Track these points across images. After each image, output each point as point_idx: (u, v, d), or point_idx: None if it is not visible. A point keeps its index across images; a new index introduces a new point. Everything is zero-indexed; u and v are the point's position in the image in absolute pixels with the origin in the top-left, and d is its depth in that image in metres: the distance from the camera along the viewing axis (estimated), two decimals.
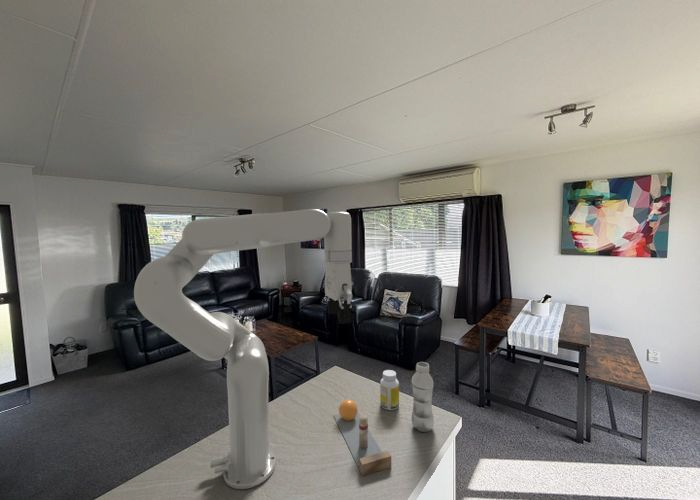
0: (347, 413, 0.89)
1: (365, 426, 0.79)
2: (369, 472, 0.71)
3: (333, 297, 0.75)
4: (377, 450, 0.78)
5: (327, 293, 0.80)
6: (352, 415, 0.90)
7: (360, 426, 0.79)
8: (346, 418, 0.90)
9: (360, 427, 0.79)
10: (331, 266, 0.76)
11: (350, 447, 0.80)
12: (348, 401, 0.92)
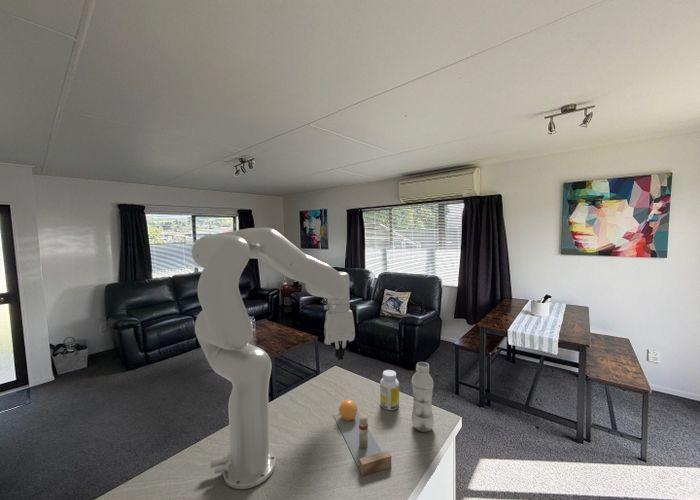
0: (347, 413, 0.89)
1: (365, 426, 0.79)
2: (369, 472, 0.71)
3: (351, 337, 0.99)
4: (377, 450, 0.78)
5: (337, 339, 0.97)
6: (352, 415, 0.90)
7: (360, 426, 0.79)
8: (346, 418, 0.90)
9: (360, 427, 0.79)
10: (347, 314, 0.98)
11: (350, 447, 0.80)
12: (348, 401, 0.92)
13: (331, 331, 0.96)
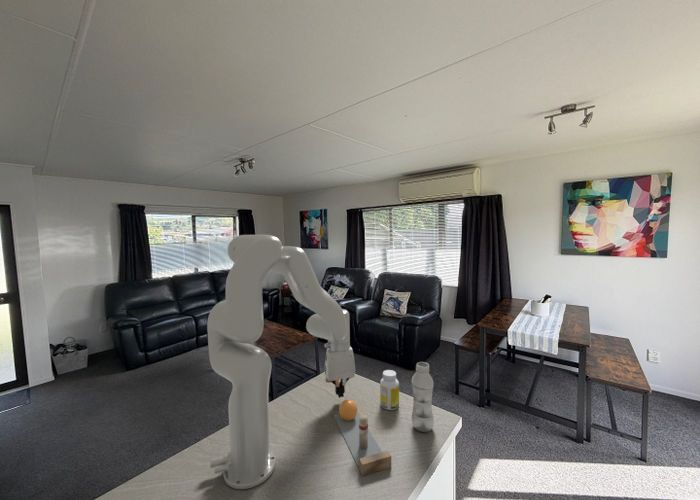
0: (347, 413, 0.89)
1: (365, 426, 0.79)
2: (369, 472, 0.71)
3: (351, 375, 1.00)
4: (377, 450, 0.78)
5: (337, 377, 0.98)
6: (352, 415, 0.90)
7: (360, 426, 0.79)
8: (346, 418, 0.90)
9: (360, 427, 0.79)
10: (347, 352, 0.99)
11: (350, 447, 0.80)
12: (348, 401, 0.92)
13: (331, 370, 0.97)
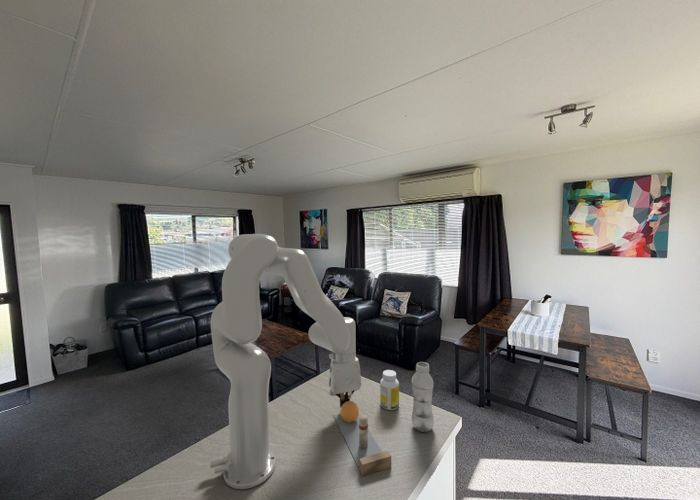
0: (349, 416, 0.88)
1: (365, 426, 0.79)
2: (369, 472, 0.71)
3: (357, 388, 0.94)
4: (377, 450, 0.78)
5: (343, 390, 0.92)
6: (353, 419, 0.89)
7: (360, 426, 0.79)
8: (347, 421, 0.89)
9: (360, 427, 0.79)
10: (353, 363, 0.93)
11: (350, 447, 0.80)
12: (350, 404, 0.90)
13: (337, 382, 0.91)
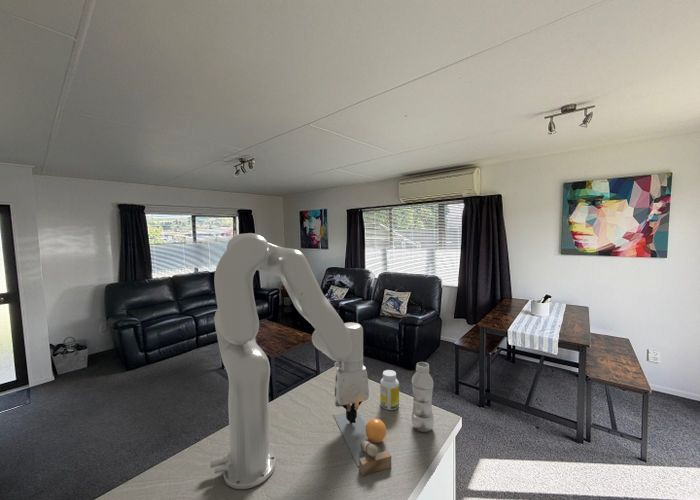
0: (370, 420, 0.84)
1: None
2: (369, 472, 0.71)
3: (364, 398, 0.88)
4: None
5: (349, 401, 0.86)
6: None
7: (367, 453, 0.73)
8: (375, 419, 0.83)
9: (367, 452, 0.73)
10: (360, 372, 0.87)
11: (350, 447, 0.80)
12: None
13: (342, 393, 0.85)
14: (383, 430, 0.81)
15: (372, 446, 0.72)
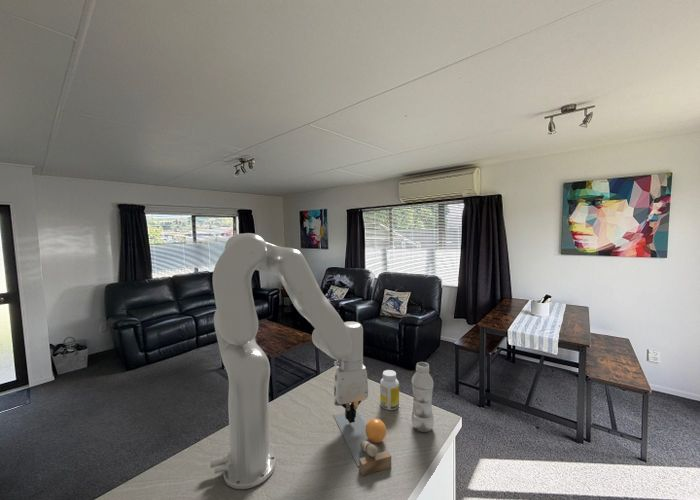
0: (370, 420, 0.84)
1: None
2: (369, 472, 0.71)
3: (364, 398, 0.87)
4: None
5: (349, 400, 0.86)
6: None
7: (367, 453, 0.73)
8: (375, 419, 0.83)
9: (367, 452, 0.73)
10: (360, 372, 0.87)
11: (350, 447, 0.80)
12: None
13: (342, 392, 0.85)
14: (383, 430, 0.81)
15: (372, 446, 0.72)
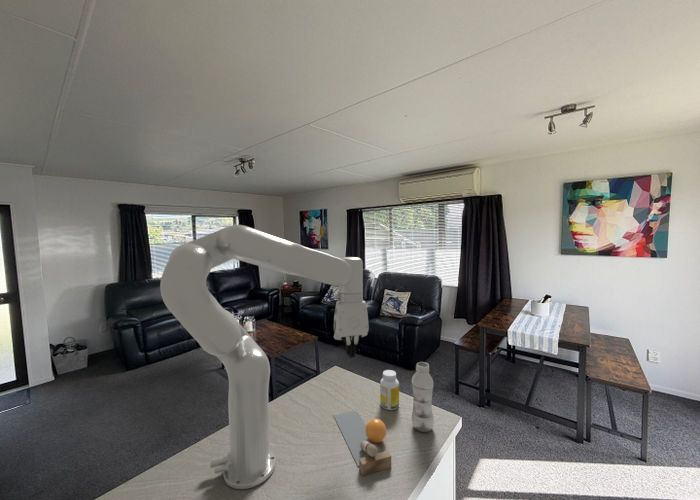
0: (370, 420, 0.84)
1: None
2: (369, 472, 0.71)
3: (364, 332, 0.87)
4: None
5: (349, 333, 0.85)
6: None
7: (367, 453, 0.73)
8: (375, 419, 0.83)
9: (367, 453, 0.73)
10: (360, 305, 0.86)
11: (350, 447, 0.80)
12: None
13: (342, 324, 0.84)
14: (383, 430, 0.81)
15: (372, 446, 0.72)
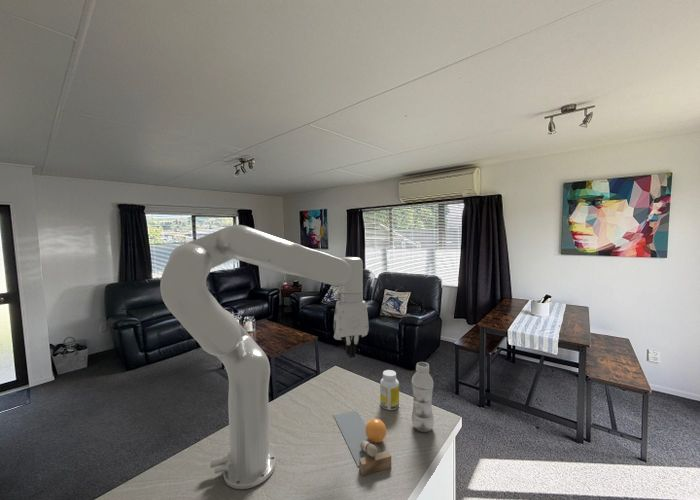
0: (370, 420, 0.84)
1: None
2: (369, 472, 0.71)
3: (364, 332, 0.87)
4: None
5: (349, 333, 0.85)
6: None
7: (367, 453, 0.73)
8: (375, 419, 0.83)
9: (367, 453, 0.73)
10: (360, 305, 0.86)
11: (350, 447, 0.80)
12: None
13: (342, 324, 0.84)
14: (383, 430, 0.81)
15: (372, 446, 0.72)
